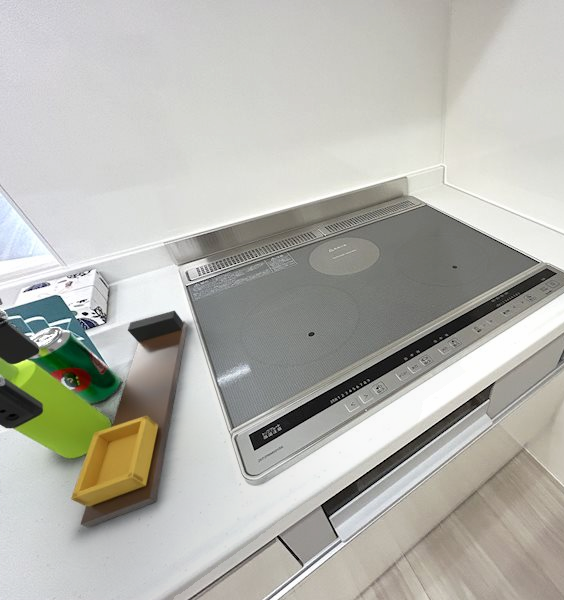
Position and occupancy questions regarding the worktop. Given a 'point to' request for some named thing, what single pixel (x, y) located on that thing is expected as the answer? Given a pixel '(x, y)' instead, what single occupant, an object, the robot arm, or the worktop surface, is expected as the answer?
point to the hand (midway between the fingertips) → (28, 384)
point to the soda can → (74, 365)
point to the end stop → (155, 326)
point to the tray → (116, 461)
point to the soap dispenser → (55, 411)
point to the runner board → (145, 402)
